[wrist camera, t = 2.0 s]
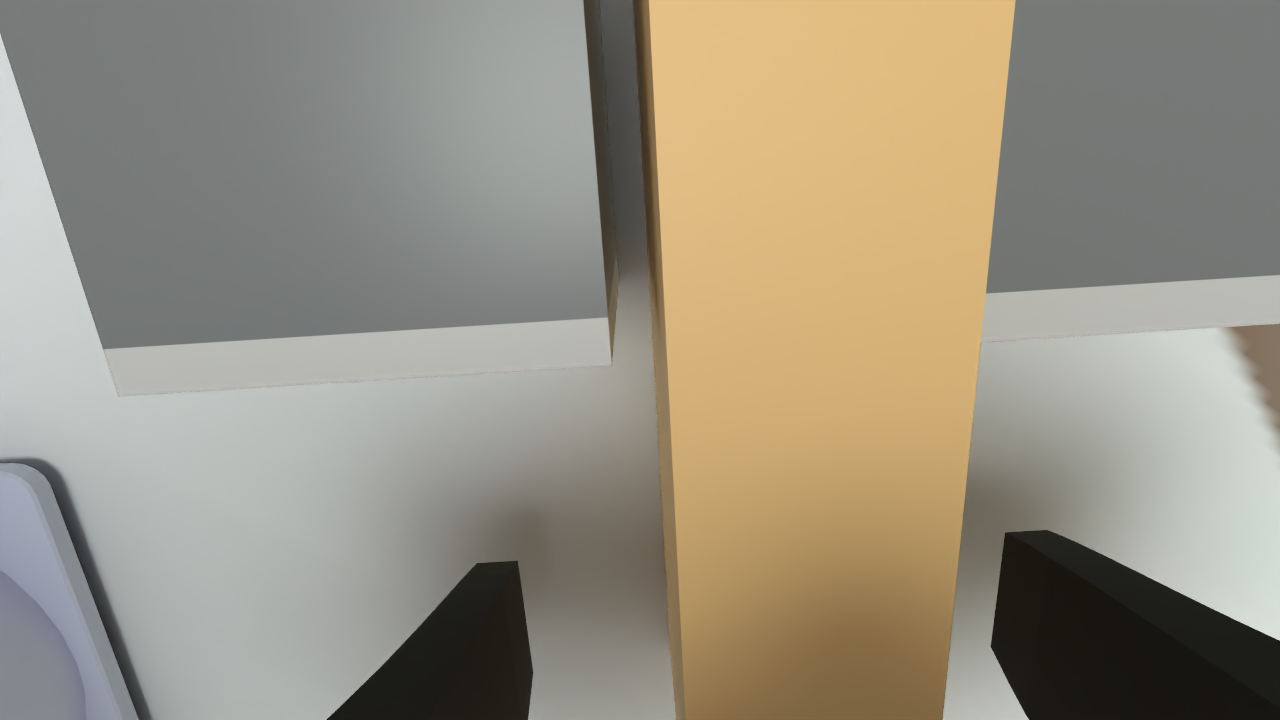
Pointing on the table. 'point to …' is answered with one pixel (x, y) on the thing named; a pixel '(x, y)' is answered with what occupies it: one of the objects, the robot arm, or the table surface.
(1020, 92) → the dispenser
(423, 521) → the table surface
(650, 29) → the tan rectangular block
